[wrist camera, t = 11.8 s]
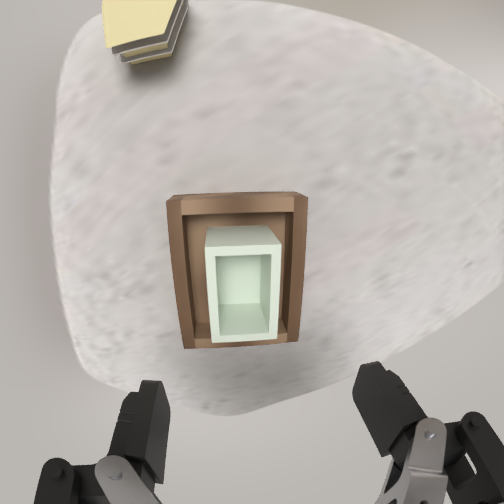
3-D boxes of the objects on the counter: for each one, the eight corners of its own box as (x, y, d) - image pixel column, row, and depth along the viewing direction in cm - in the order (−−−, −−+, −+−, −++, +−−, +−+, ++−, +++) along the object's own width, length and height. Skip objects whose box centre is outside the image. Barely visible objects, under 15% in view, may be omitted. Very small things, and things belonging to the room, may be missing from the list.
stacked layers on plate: (212, 71, 18) (211, 45, 13) (106, 93, 17) (76, 78, 12) (206, -16, 15) (205, -51, 10) (110, 4, 14) (89, -23, 9)
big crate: (295, 191, 22) (308, 197, 19) (289, 321, 26) (297, 341, 23) (173, 195, 21) (166, 201, 18) (186, 327, 24) (184, 348, 21)
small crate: (267, 225, 21) (281, 244, 17) (265, 304, 24) (277, 338, 19) (207, 226, 21) (204, 247, 16) (212, 307, 23) (211, 342, 18)
